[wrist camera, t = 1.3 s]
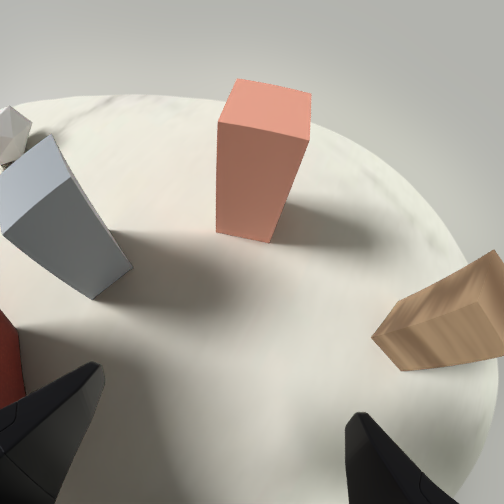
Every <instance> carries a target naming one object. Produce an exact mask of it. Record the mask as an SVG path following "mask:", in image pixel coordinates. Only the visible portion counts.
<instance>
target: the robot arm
mask: <svg viewBox="0 0 504 504" xmlns="http://www.w3.org/2000/svg"><path fill="white" fill-rule="evenodd" d="M104 385H105V377H104V372H103V368H102V365H101V364H98V363H96V362H93V361H90V362H88V363H86V364H85V365H83V366H81V367H79V368H77V369H75V370H74V371H72V372H70V373H68V374H66V375H64V376H63V377H61V378H59V379H57V380H55V381H53V382H51V383H50V384H48V385H46V386H44V387H42V388H40V389H38V390H37V391H35V392H33V393H31V394H29V395H27V396H25V397H23V398H21V399H20V400H18V402H17V401H16V402H14V403H12V404H10V405H8V406H6V407H4V408H2V409H0V504H55V501H56V500H55V499H56V498H57V496H58V493H59V491H60V488H61V486H62V483H63V481H64V479H65V476H66V474H67V472H68V470H69V467H70V465H71V463H72V461H73V458H74V456H75V454H76V452H77V450H78V447H79V445H80V443H81V441H82V439H83V437H84V435H85V433H86V431H87V429H88V426H89V424H90V422H91V420H92V418H93V415H94V412H95V410H96V407H97V404H98V401H99V398H100V396H101V393H102V390H103V388H104ZM345 466H346V476H347V486H348V497H349V504H459V503H457V502H456V501H455V500H454V499H452V498H451V497H450V496H449V495H447V494H446V493H445V492H444V491H442V490H441V489H440V488H439V487H438V486H436V485H435V484H434V483H433V482H432V481H431V480H430V479H429V478H428V477H427V476H426V475H425V474H424V473H423V472H421V470H420V469H419V468H418V467H417V466H416V465H415V464H414V462H413V461H412V460H411V459H410V458H409V457H408V456H407V455H406V454H405V453H404V452H403V451H402V450H401V449H400V448H399V447H398V446H397V444H396V443H395V442H394V441H393V440H392V439H391V438H390V437H389V436H388V435H387V434H386V433H385V432H384V431H383V429H382V428H381V427H380V426H379V425H378V424H377V423H376V422H375V421H374V420H373V419H372V418H371V416H370V415H369V414H368V413H366V412H357V413H355V414H354V415H353V417H352V418H351V419H350V421H349V422H348V423H347V425H346V427H345Z"/></svg>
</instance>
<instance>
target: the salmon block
mask: <svg viewBox="0 0 504 504" xmlns="http://www.w3.org/2000/svg"><path fill="white" fill-rule="evenodd" d="M310 118H311V94H310V93H306V92H302V91H298V90H294V89H290V88H285V87H281V86H276V85H271V84H266V83H261V82H255V81H249V80H243V79H237V81H236V82H235V84H234V87H233V89H232V91H231V93H230V95H229V97H228V99H227V102H226V104H225V106H224V108H223V111H222V113H221V115H220V118H219V120H218V130H217V166H216V232H218V233H223V234H227V235H232V236H237V237H242V238H247V239H252V240H257V241H261V242H266V243H270V240H271V238H272V235H273V233H274V230H275V227H276V225H277V222H278V220H279V217H280V215H281V212H282V210H283V207H284V205H285V202H286V200H287V197H288V195H289V192H290V189H291V187H292V184H293V182H294V179H295V177H296V174H297V171H298V169H299V166H300V164H301V161H302V159H303V156H304V153H305V151H306V148H307V146H308V143H309V140H310Z"/></svg>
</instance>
